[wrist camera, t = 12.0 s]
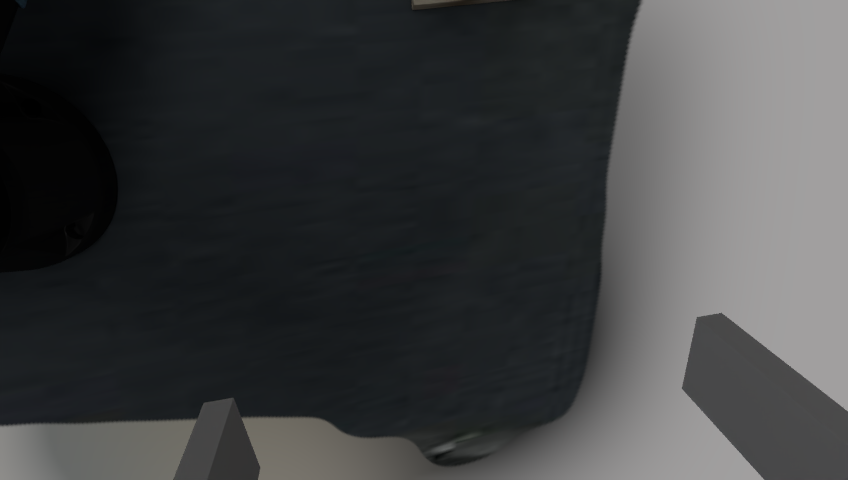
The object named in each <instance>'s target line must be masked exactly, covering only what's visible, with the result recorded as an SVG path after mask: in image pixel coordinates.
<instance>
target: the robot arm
mask: <svg viewBox="0 0 848 480" xmlns="http://www.w3.org/2000/svg"><path fill="white" fill-rule="evenodd" d="M26 4H27V0H0V54H1V52H2V49H3V46H4V44H5V41H6V38H7V36H8V33H9V30H10V28H11V25H12V22H13V19H14V17H15V14H16V11H17V9H18V7H21V8H25V6H26ZM116 198H117V183H116V176H115V171H114V167H113V163H112V160H111V158H110V155H109V153H108V150H107V148H106V146H105V145H104V143H103V141H102V139H101V138H100V136H99V135H98V133H97V132H96V130H95V129H94V128H93V126H92V125H91V124H90V123H89V121H88V120H87V119H86V118H85V117H84V116H83V115H82V114H81V113H80V112H79V111H78V110H77V109H76V108H74V107H73V106H72V105H71V104H70V103H68V102H67V101H66V100H64V99H63V98H62V97H60V96H59V95H57V94H55V93H54V92H52V91H50V90H48V89H46V88H44V87H43V86H40V85H38V84H36V83H33V82H31V81H28V80H25V79H21V78H18V77H13V76H8V75H2V74H0V273H2V272H14V271H25V270H34V269H40V268H44V267H48V266H51V265H54V264H57V263H59V262H62V261H64V260H66V259H68V258H70V257H72V256H74V255H76V254H78V253H80V252H82V251H83V250H85V249H86V248H88V247H89V246H91V245H92V244H93V243H94V242H95V241H96V240H97V239H98V238H99V237H100V236H101V235H102V234H103V232H104V231H105V229H106V228H107V226H108V224H109V223H110V220H111V218H112V216H113V213H114V209H115V205H116ZM682 389H683V390H684V391H685V392H686V394H687V395H688V396H689V397H690V398H691V399H692V400H693V401H694V402H695V403H696V405H697V406H698V407H699V408H700V409H701V410H702V411H703V412H704V413H705V414H706V416H707V417H708V418H709V419H710V420H711V421H712V422H713V423H714V424H715V425H716V427H717V428H718V429H719V430H720V431H721V432H722V433H723V434H724V435H725V437H726V438H727V439H728V440H729V441H730V442H731V443H732V444H733V445H734V446H735V448H736V449H737V450H738V451H739V452H740V453H741V454H742V455H743V456H744V458H745V459H746V460H747V461H748V462H749V463H750V464H751V465H752V466H753V468H754V469H755V470H756V471H757V472H758V473H759V474H760V475H761V476H762V477H763V479H764V480H848V411H846V410H845V409H844V408H843V407H841V406H840V405H839V404H837V403H836V402H835V401H834V400H832V399H831V398H830V397H828V396H827V395H826V394H825V393H823V392H822V391H821V390H819V389H818V388H817V387H816V386H814V385H813V384H812V383H810V382H809V381H808V380H806V379H805V378H804V377H803V376H802V375H800V374H799V373H798V372H796V371H795V370H794V369H792V368H791V367H790V366H789V365H787V364H786V363H785V362H784V361H782V360H781V359H780V358H778V357H777V356H776V355H775V354H773V353H772V352H770V351H769V350H768V349H767V348H766V347H764V346H763V345H762V344H761V343H759V342H758V341H757V340H755V339H754V338H753V337H751V336H750V335H749V334H747V333H746V332H745V331H744V330H743V329H741V328H740V327H739V326H737V325H736V324H735V323H734V322H732V321H731V320H730V319H728V318H727V317H726V316H725V315H723V314H722V313H719V314H713V315H708V316H702V317H697V319H696V324H695V329H694V334H693V339H692V343H691V348H690V353H689V358H688V362H687V367H686V372H685V377H684V382H683V387H682ZM259 470H260V466H259V463H258V461H257V458H256V455H255V453H254V450H253V447H252V445H251V442H250V440H249V437H248V435H247V432H246V429H245V426H244V424H243V421H242V419H241V416H240V413H239V411H238V408H237V406H236V403H235V400H234V398H229V399H223V400H218V401H212V402H206V403H204V404H203V406H202V409H201V411H200V414H199V416H198V419H197V421H196V424H195V426H194V429H193V432H192V434H191V436H190V439H189V442H188V444H187V447H186V449H185V452H184V454H183V457H182V459H181V462H180V464H179V467H178V470H177V472H176V474H175V477H174V479H173V480H258V476H259Z"/></svg>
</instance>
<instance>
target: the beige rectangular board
mask: <svg viewBox="0 0 848 480" xmlns="http://www.w3.org/2000/svg"><path fill="white" fill-rule="evenodd" d="M500 1H510V0H411V2H412V10H419V9H429V8H439V7H449V6H460V5H470V4H480V3H490V2H500Z"/></svg>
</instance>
